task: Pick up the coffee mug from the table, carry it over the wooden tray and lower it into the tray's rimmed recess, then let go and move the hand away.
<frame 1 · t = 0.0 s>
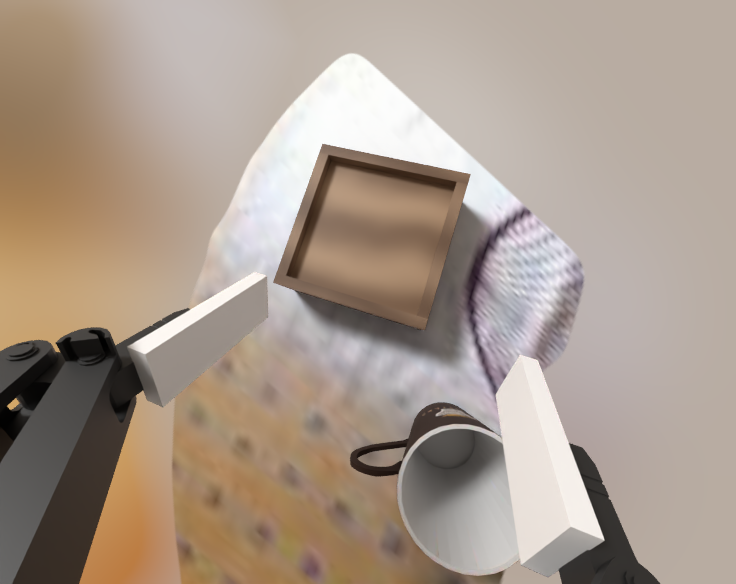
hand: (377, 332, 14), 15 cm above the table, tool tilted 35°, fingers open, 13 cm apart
wooden tray: (375, 245, 30), on the table
coffee mug: (430, 426, 27), on the table
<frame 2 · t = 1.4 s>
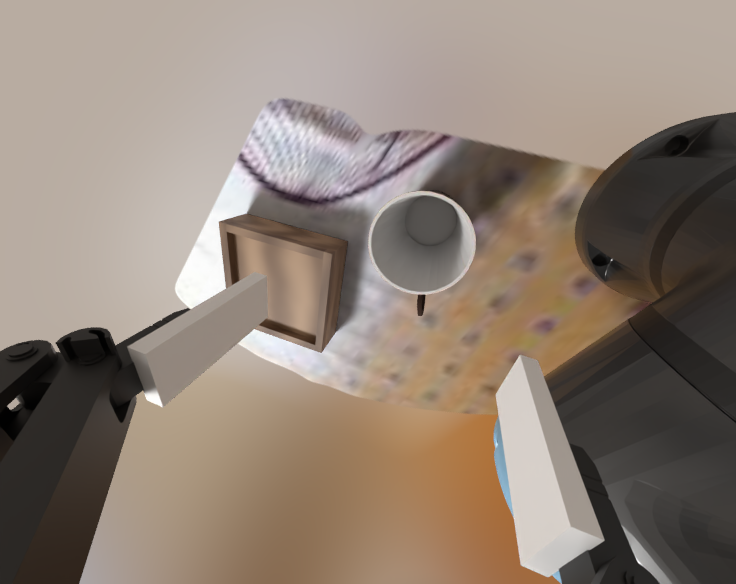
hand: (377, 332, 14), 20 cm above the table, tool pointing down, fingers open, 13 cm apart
wooden tray: (293, 276, 39), on the table
coffee mug: (424, 232, 31), on the table
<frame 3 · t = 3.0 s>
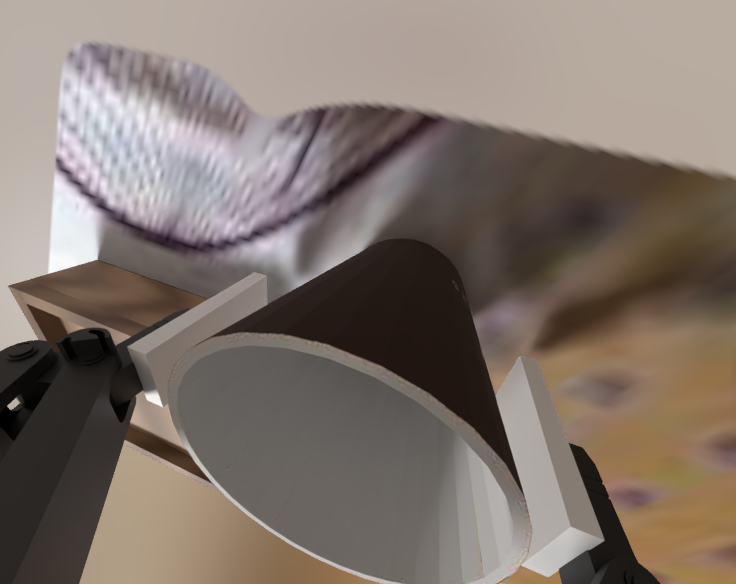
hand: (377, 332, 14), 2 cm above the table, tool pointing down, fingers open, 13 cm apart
wooden tray: (188, 359, 24), on the table
coffee mug: (392, 313, 16), on the table
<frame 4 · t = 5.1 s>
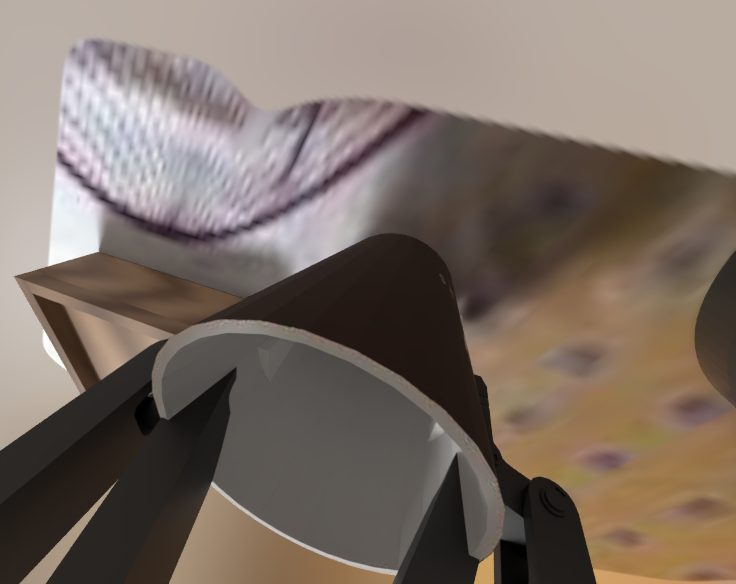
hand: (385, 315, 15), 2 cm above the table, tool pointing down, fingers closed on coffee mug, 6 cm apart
wooden tray: (190, 347, 25), on the table
coffee mug: (382, 308, 16), point 1 cm above the table, touching gripper
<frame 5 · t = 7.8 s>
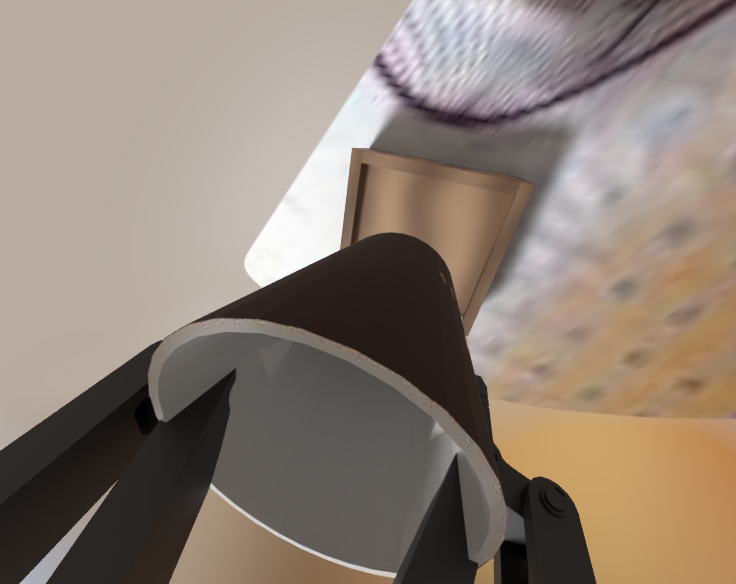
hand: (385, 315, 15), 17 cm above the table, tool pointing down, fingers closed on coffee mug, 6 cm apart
wooden tray: (421, 236, 30), on the table
coffee mug: (382, 308, 16), point 17 cm above the table, touching gripper
when the fingers open (5 cm above the table, at t = 10.7 s): coffee mug drops 1 cm, resting on wooden tray.
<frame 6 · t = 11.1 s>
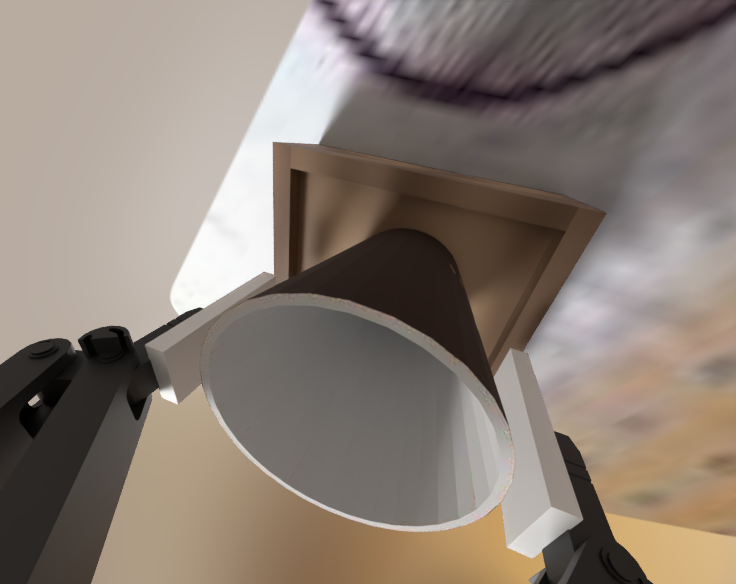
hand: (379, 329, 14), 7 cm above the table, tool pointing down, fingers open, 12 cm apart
wooden tray: (403, 277, 20), on the table
coffee mug: (392, 300, 17), point 4 cm above the table, touching wooden tray
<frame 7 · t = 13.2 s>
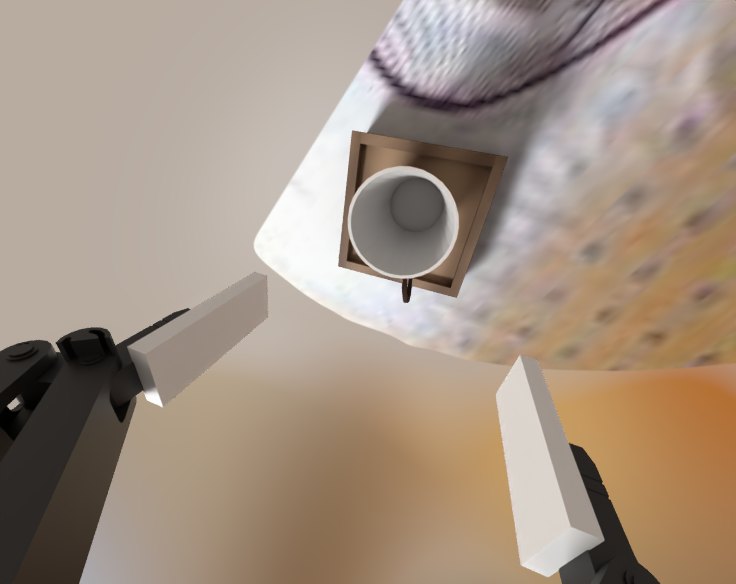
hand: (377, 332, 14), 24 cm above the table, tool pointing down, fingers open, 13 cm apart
wooden tray: (414, 212, 34), on the table
coffee mug: (410, 217, 30), point 4 cm above the table, touching wooden tray
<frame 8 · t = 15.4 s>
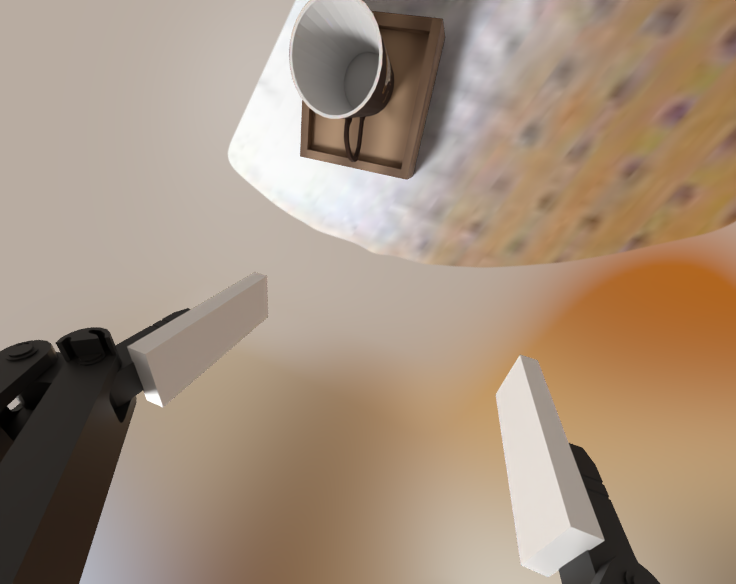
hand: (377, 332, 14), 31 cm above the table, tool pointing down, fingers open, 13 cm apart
wooden tray: (371, 104, 36), on the table
coffee mug: (363, 99, 33), point 4 cm above the table, touching wooden tray
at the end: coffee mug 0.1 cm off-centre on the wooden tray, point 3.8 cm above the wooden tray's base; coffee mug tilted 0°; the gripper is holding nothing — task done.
